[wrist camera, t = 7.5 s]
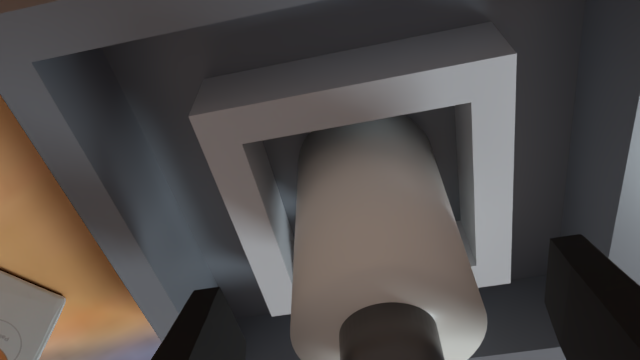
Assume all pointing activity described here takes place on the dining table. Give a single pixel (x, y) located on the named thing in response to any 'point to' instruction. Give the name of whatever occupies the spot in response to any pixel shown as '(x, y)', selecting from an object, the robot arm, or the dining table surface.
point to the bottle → (379, 251)
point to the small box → (26, 318)
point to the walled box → (322, 113)
